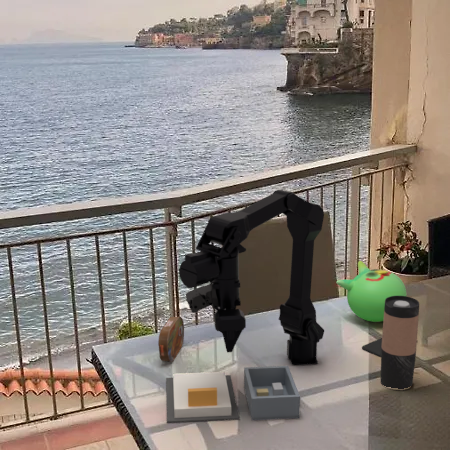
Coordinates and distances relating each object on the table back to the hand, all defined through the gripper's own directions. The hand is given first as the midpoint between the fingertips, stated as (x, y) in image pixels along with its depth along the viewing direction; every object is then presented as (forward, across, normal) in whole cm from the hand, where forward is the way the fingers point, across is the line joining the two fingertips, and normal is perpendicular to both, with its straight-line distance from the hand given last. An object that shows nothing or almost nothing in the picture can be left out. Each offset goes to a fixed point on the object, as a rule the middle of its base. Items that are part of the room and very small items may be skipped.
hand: (227, 342), depth 152 cm
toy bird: (+14, -38, +45) cm, 61 cm away
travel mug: (+14, 0, +39) cm, 41 cm away
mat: (+12, +2, -6) cm, 14 cm away
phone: (+14, -20, +44) cm, 50 cm away
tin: (+13, -21, -12) cm, 27 cm away
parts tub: (+12, +5, +9) cm, 16 cm away
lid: (+12, +2, -6) cm, 13 cm away
